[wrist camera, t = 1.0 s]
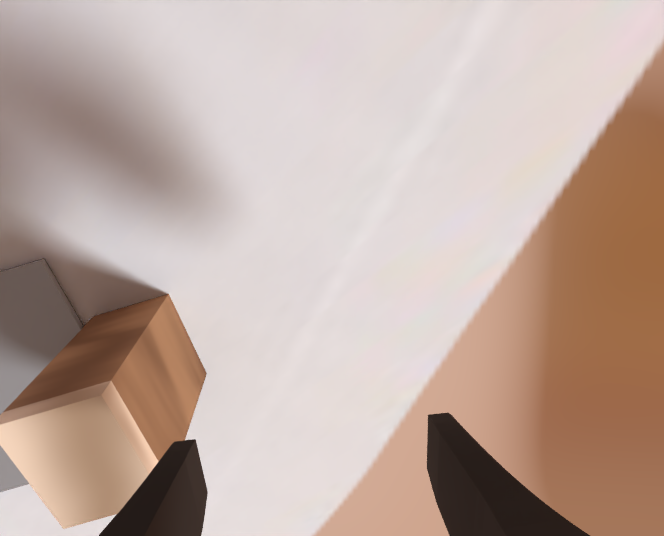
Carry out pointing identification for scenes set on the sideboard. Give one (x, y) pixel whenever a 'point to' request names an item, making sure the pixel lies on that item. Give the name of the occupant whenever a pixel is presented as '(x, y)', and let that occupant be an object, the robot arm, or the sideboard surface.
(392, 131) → the sideboard surface
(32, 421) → the walnut block
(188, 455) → the robot arm
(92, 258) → the sideboard surface
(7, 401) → the slate rubber mat
